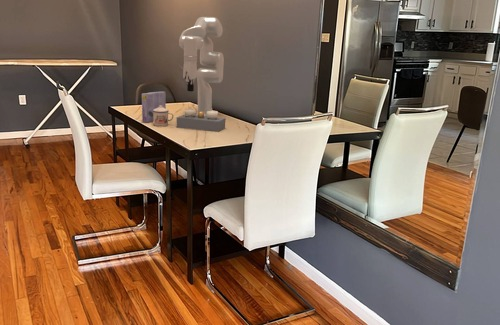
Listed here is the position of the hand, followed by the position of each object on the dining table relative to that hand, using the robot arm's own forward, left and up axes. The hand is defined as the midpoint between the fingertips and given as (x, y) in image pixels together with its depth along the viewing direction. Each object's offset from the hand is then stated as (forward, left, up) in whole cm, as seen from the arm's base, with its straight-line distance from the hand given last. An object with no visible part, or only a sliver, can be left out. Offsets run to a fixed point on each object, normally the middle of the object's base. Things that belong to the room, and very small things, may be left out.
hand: (190, 91), depth 268 cm
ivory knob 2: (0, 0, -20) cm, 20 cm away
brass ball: (0, +7, -15) cm, 17 cm away
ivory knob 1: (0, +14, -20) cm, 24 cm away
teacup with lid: (+3, -16, -21) cm, 27 cm away
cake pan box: (-7, -27, -21) cm, 35 cm away
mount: (0, +7, -21) cm, 22 cm away
